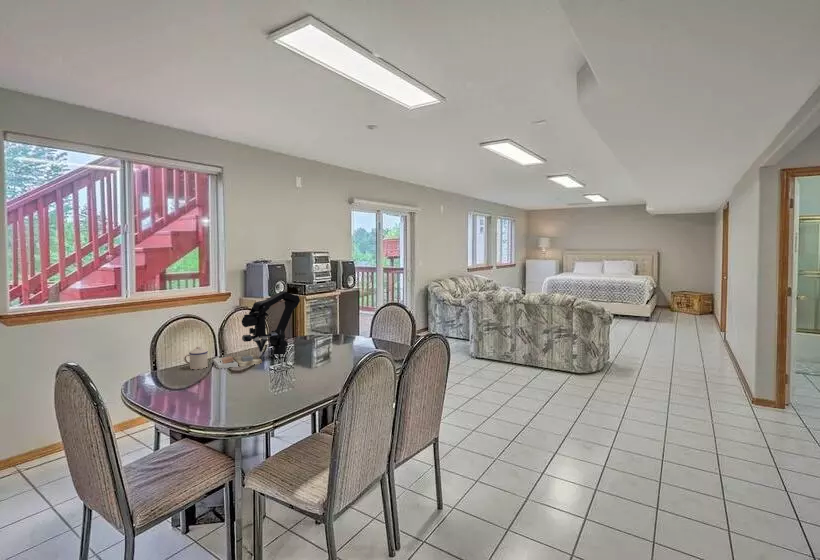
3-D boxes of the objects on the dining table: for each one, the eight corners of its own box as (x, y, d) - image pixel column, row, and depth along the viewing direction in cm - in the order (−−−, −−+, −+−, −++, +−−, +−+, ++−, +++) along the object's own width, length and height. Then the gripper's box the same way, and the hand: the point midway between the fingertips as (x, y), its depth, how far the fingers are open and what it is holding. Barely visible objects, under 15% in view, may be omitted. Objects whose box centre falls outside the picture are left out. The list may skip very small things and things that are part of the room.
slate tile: (250, 358, 246) (250, 355, 246) (252, 360, 242) (252, 357, 242) (241, 359, 243) (241, 356, 243) (243, 361, 239) (243, 358, 239)
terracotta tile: (231, 359, 247) (230, 355, 247) (233, 360, 243) (232, 357, 242) (222, 361, 244) (221, 358, 244) (224, 363, 240) (223, 360, 240)
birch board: (254, 357, 256) (254, 354, 256) (261, 363, 243) (261, 360, 243) (232, 360, 250) (232, 357, 250) (239, 366, 236) (239, 363, 236)
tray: (232, 360, 249) (231, 356, 249) (238, 366, 236) (238, 362, 236) (213, 363, 244) (213, 358, 244) (218, 369, 231) (218, 364, 230)
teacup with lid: (210, 365, 239) (210, 344, 238) (204, 370, 230) (203, 348, 229) (188, 365, 238) (187, 344, 237) (180, 370, 228) (180, 348, 228)
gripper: (272, 321, 257) (273, 347, 258) (239, 324, 247) (240, 351, 248) (278, 323, 248) (278, 350, 249) (244, 326, 238) (245, 355, 239)
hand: (260, 351), depth 246 cm, fingers closed
